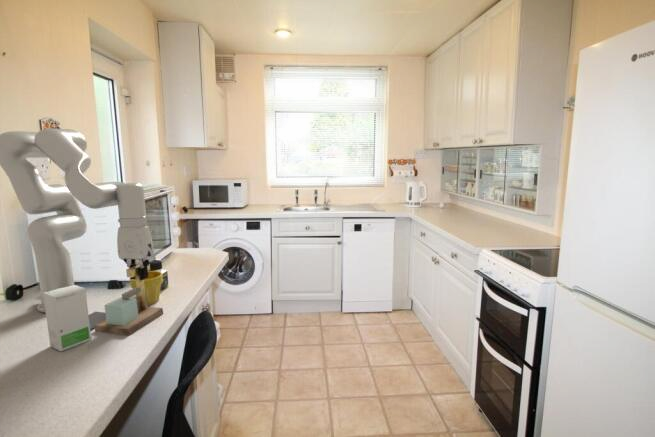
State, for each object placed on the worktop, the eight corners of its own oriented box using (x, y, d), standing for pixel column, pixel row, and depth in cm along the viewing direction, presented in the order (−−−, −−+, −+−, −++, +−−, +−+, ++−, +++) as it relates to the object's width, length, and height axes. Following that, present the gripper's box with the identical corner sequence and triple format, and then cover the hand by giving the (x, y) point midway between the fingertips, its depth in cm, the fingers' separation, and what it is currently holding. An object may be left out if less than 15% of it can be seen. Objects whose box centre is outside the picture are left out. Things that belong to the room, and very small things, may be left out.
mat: (65, 328, 112) (65, 326, 112) (95, 313, 123) (95, 311, 123) (89, 331, 110) (89, 329, 110) (118, 315, 121) (118, 314, 121)
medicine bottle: (160, 293, 139) (157, 263, 137) (142, 293, 140) (138, 263, 137) (169, 286, 146) (166, 257, 144) (151, 286, 147) (148, 257, 144)
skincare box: (60, 352, 99) (51, 297, 96) (48, 346, 102) (40, 292, 99) (93, 339, 106) (86, 287, 103) (81, 333, 109) (74, 283, 106)
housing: (95, 331, 110) (94, 325, 110) (132, 310, 125) (131, 304, 124) (129, 335, 108) (128, 329, 107) (163, 313, 122) (162, 308, 122)
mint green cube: (106, 323, 111) (104, 305, 110) (122, 315, 116) (120, 297, 115) (123, 325, 109) (121, 306, 108) (138, 317, 115) (136, 298, 114)
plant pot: (151, 308, 126) (148, 281, 124) (125, 306, 128) (122, 279, 127) (170, 296, 136) (168, 271, 134) (146, 294, 138) (143, 269, 137)
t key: (123, 316, 115) (118, 272, 112) (148, 303, 125) (143, 262, 122) (129, 317, 114) (124, 273, 111) (154, 303, 125) (150, 262, 122)
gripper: (102, 223, 114) (109, 280, 117) (147, 225, 110) (153, 284, 114) (121, 219, 121) (127, 273, 125) (163, 221, 118) (168, 276, 121)
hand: (139, 277), depth 119 cm, fingers open, 2 cm apart
